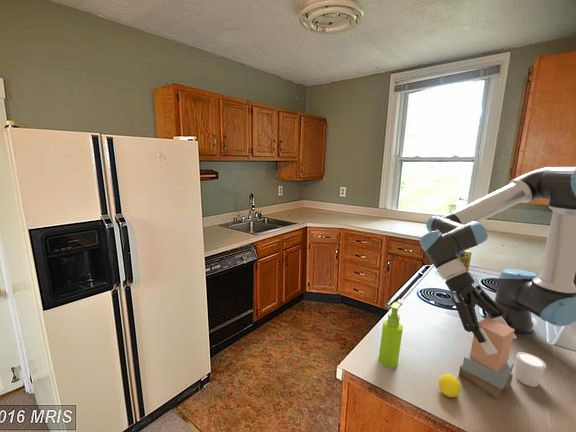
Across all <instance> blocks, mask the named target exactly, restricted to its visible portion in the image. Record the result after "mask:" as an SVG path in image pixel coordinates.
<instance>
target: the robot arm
mask: <svg viewBox="0 0 576 432" xmlns="http://www.w3.org/2000/svg"><path fill="white" fill-rule="evenodd" d="M541 199H543V200H544V199H545V200H549V201H548V205H547V206H548V208H549V209H551V211H552V215H551V220H550V225H549V229H548V233H547V236H546V237H547V238H546V243H545V247H544V251H543V252H544V253H543V256H542V261H541V267H540V270H539V275H538V274H537V273H535V272H532V271H528V270H523V269H517V268H505V269H503V270H501V272H500V276H499V277H498V282H497V287H496V293H495V298H494V300H493V299H492V298H491V296H489V295H488V293H486V292H485V291H484V289H483V288H482V286H481V285H479V284H478V285H475V286H474V285H473V284H474V283H475V280H474V278H473V276H472V275H471V274H470V272H469V271H468V272H466V271H465V270H466V268H465V266H464V265H463V264H462V262H461V261H460V260H459V258H458V256H457V255H456V254H457V253H460V252H462V251H465V250H467V249H469V250H470V249H472V248H474V247H478V246H479V245H480V244H482V243H484V242H486V241H487V240H488V236H489V235H488V231H487V228H485V226H484V225H483V224H482V223H481V221H482V222H483V221H484V220H486V219H488V218H490V217H493V216H494V215H496V214H498V213H501V212H503V211H505V210H507V209H510V208H512V207H514V206H516V205H518V204H521V203H523V204H526V203H528V202H530V201H533V200H541ZM425 227H426V230H427V231H428V232H427V233H425V234H423V236H421V237H420V239H419V243H420V246H421V247H422V249H423V252H424V253H425V254H426V256H427V257H428V258H429V260H430V261H431V263H432V265H433V266H434V268H435V269H436V271H437V272H438V274H439V275H440V277H441V279H442V280H444V281H445V282H444V284H445V285H446V287H447V288H448V289H449V291H450V292H452V293H454V292H455V295H453V296H451V298H450V299H451V300H452V302H453V303H454V305H455V307H456V310H457V313H458V316H459V318H460V322H461V323H462V327H463V329H464V331H466V332H468V333H470V332H471V333H472V334H473V336H474V335H475V337H476V338H477V340H478V342H479V343H480V344H481V346H482V347H483V349H484V351H485V352H486V354H487V355H490V354H495V353H498V351H497V350H496V348H495V347H494V345H493V344H492V342H491V341H490V339H489V338H488V336H487V335H486V333H485V332H484V330H483V329H482V328H479V324H478V321H479V320H478V317H477V312H476V309H475V307H476V306H478V307H479V308H480V309H481V310H483V311H484V312H485V313H486V317H485V318H487V317H488V318H490V319H492V320H495V321H497V322H499V323H501V324H504V325H506V326H508V327H511V328H513V329H515V331H514V335H513V339H512V340H514V339H517V336H516V334H520V335H525V334H527V335H528V334H531V333H533V329H534V323H533V320H532V319H533V318H532V315H533V314H534V315H535V316H537V317H539V319H541V321H545V322H547V323H549V324H551V325H553V326H556V327H565V326H569V325H572V324H574V323H575V322H576V285H574V281H575V277H576V276H575V275H576V166H554V165H553V166H552V165H551V166H545V167H541V168H538V169H535V170H532V171H529V172H528V173H524V174H522V175H520V176H517V177H516V178H513V179H511V180H510V181H509V182H508V184H507V185H505V186H503V187H502V188H499V189H497V190H496V191H493V192H490V193H489V194H486V195H485V196H483V197H481V198H478V199H476V200H474V201H472V202H470V203H468V204H466V205H464V206H462V207H460V208H458V209H455V210H453V211H452V212H450V213H446V214H445V215H443V216H441V215H432V216H431V217H430V218H429V219H427V221H426V226H425Z"/></svg>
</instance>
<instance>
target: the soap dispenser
mask: <svg viewBox="0 0 576 432" xmlns="http://www.w3.org/2000/svg"><path fill="white" fill-rule="evenodd" d="M401 306H403V303H402V302H400V301H395V302H393V303H392V304H391V305H390V309H391V312H389V313H388V316H387V319H386V320H384V321H383V323H382V327H381V329H382V331H381V336H380V337H381V339H380V346H379V353H378V354H379V355H378V361H379V363H380V364H381V365H383V366H384V367H387V368H391V369H392V368H396V367H397V366H398V365H399V357H400V351H401V349H400V348H401V342H402V335H403V329H404V327H403V325H402V324H401V323H400V320H401V319H400V318H401V317H400V314H398V310H399V308H400V307H401Z"/></svg>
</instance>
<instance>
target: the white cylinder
mask: <svg viewBox="0 0 576 432" xmlns="http://www.w3.org/2000/svg"><path fill="white" fill-rule="evenodd" d="M514 366H515V368H514V377H515V378H516V379H517V380H518V381H519V382H520V383H522V384H524V385H526V386H530V387H533V388H535V387H538V386H539V384H540V382H541V379H542V377H543V376H544V372H545V371H546V368H547V364H546V362H545V361H544V360H543V359H541V358H540V357H538V356H536V355H533V354H531V353H528V352H522V351H519V352H517V353H516V355H515V365H514Z"/></svg>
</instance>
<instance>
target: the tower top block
mask: <svg viewBox="0 0 576 432" xmlns="http://www.w3.org/2000/svg"><path fill="white" fill-rule="evenodd" d="M470 352H471V348H470V349H469V350H468V352H467V353H466V354H465V355H464V357H463V361H462V362H463V363H462V364H463V366H462V369H464V370H466V371H468V372H470V373H471V374H473V375H475V376H477V377H479V378H481V379H483V380H485V381H486V382H488V383H490V384H492V385H494V386H496V387H498V388H500V389H501V390H502V389H503V388H504V386H505V384H506V382H507V380H508V378H509V377H510V375H511V374H512V372H513V369H514V363H515V361H513V360H511V359H510V358H508V361H507V363H506V364H505V365H504V366H503V367H502V368H500V369H499V370H498V371H497V372H496V371H494V370H492V369H491V368H489V367H487V366H485V365H484V364H482V363H480V362H478V361H477V360H475V359H473V358H471V357H470Z"/></svg>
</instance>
